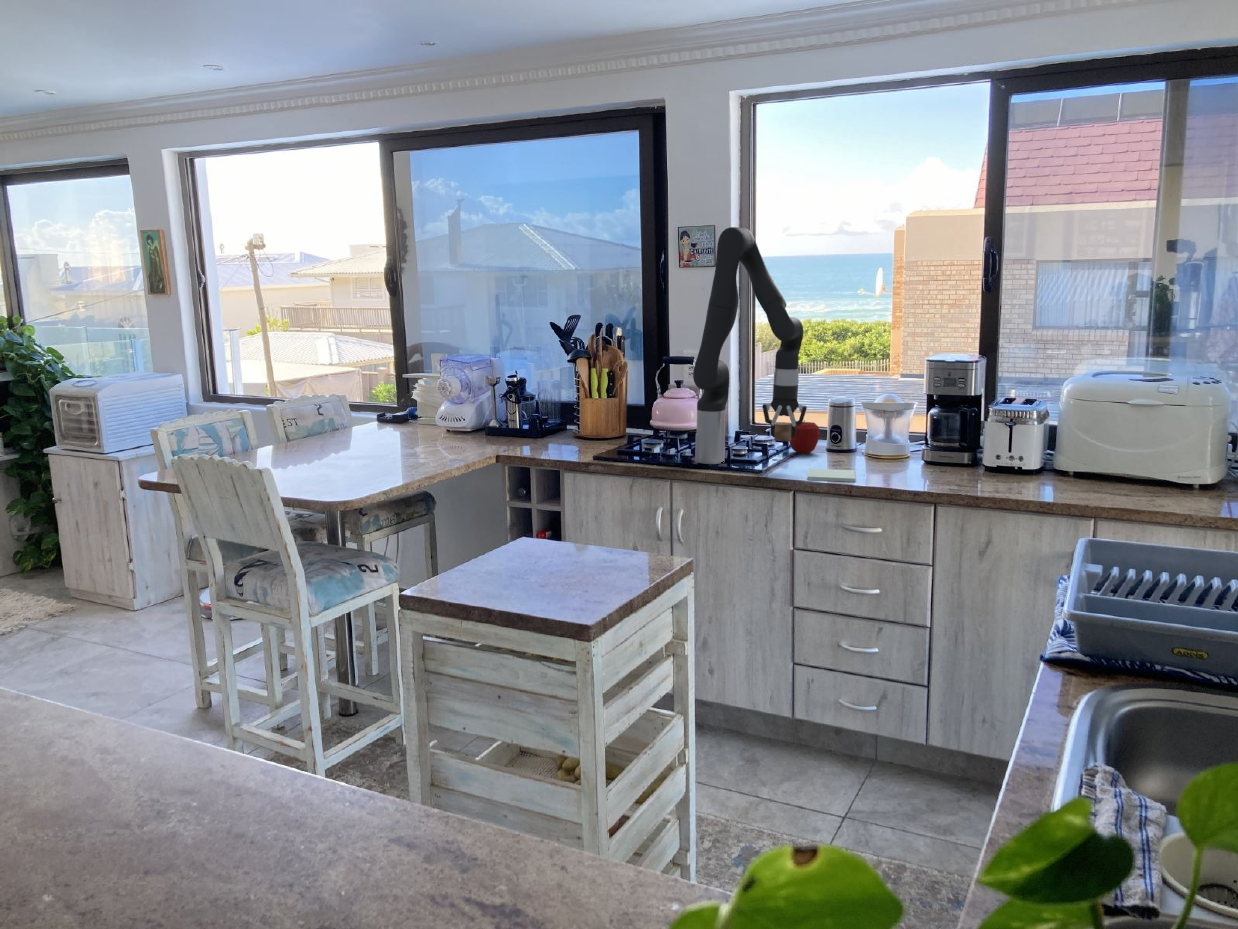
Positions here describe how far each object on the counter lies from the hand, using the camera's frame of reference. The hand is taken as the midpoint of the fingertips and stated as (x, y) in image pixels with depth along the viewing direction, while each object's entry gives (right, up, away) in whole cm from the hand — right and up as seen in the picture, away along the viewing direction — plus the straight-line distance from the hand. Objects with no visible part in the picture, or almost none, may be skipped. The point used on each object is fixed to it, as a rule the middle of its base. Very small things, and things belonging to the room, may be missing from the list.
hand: (783, 437), depth 303 cm
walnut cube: (0, -1, 0) cm, 1 cm away
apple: (+12, -5, +30) cm, 32 cm away
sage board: (+14, -12, -7) cm, 20 cm away
